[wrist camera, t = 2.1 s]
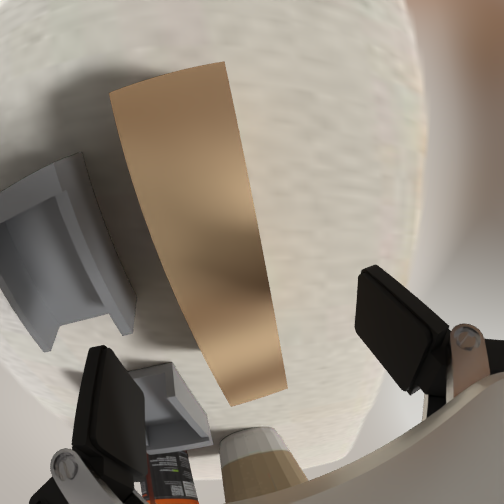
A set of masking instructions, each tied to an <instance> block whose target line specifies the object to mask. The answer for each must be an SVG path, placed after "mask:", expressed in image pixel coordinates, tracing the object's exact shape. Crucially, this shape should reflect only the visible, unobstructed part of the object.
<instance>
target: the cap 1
mask: <svg viewBox="0 0 504 504" xmlns="http://www.w3.org/2000/svg"><path fill="white" fill-rule="evenodd" d="M0 288H1V290H2V292H3V293H4V295H5V297H6V298H7V300H8V302H9V303H10V305H11V307H12V308H13V310H14V311H15V313H16V314H17V316H18V317H19V319H20V320H21V322H22V323H23V325H24V326H25V328H26V329H27V331H28V332H29V333H30V335H31V336H32V337H33V339H34V340H35V341H36V343H37V344H38V345H39V347H40V348H41V349H42V350H43V352H49V351H51V349H52V346H53V343H54V340H55V338H56V335H57V332H58V329H59V327H60V326H61V325H65V324H69V323H73V322H77V321H81V320H85V319H89V318H93V317H97V316H101V315H105V314H109V315H110V316H111V318H112V320H113V321H114V323H115V325H116V326H117V328H118V330H119V331H120V333H121V334H122V336H124V335H128V334H132V333H133V327H134V317H135V309H136V301H137V297H136V295H135V293H134V291H133V289H132V287H131V284H130V282H129V280H128V278H127V276H126V274H125V271H124V269H123V267H122V265H121V262H120V260H119V258H118V255H117V253H116V251H115V248H114V246H113V243H112V241H111V238H110V236H109V233H108V231H107V228H106V225H105V223H104V220H103V217H102V215H101V212H100V209H99V206H98V203H97V200H96V197H95V194H94V191H93V188H92V185H91V182H90V179H89V175H88V172H87V169H86V165H85V162H84V158H83V154H82V152H79V153H77V154H74V155H71V156H69V157H66V158H64V159H61V160H59V161H56V162H54V163H52V164H50V165H48V166H46V167H44V168H42V169H40V170H38V171H36V172H34V173H32V174H30V175H29V176H27V177H25V178H23V179H21V180H20V181H18V182H16V183H15V184H13V185H11V186H10V187H8V188H6V189H5V190H3V191H1V192H0Z"/></svg>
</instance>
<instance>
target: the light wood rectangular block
mask: <svg viewBox="0 0 504 504" xmlns="http://www.w3.org/2000/svg"><path fill="white" fill-rule="evenodd" d="M109 96H110V101H111V105H112V109H113V114H114V118H115V122H116V126H117V130H118V134H119V138H120V141H121V145H122V149H123V152H124V156H125V159H126V163H127V166H128V169H129V173H130V176H131V179H132V182H133V186H134V189H135V192H136V195H137V198H138V201H139V204H140V207H141V210H142V213H143V215H144V218H145V221H146V224H147V227H148V229H149V232H150V235H151V238H152V240H153V243H154V246H155V248H156V251H157V253H158V256H159V258H160V261H161V263H162V266H163V268H164V271H165V273H166V276H167V278H168V280H169V283H170V285H171V287H172V290H173V292H174V294H175V297H176V299H177V301H178V304H179V306H180V308H181V310H182V312H183V315H184V317H185V319H186V321H187V323H188V325H189V327H190V330H191V332H192V334H193V336H194V338H195V340H196V342H197V344H198V346H199V348H200V350H201V352H202V354H203V356H204V358H205V360H206V362H207V364H208V366H209V368H210V370H211V371H212V373H213V375H214V377H215V379H216V381H217V383H218V384H219V386H220V388H221V390H222V392H223V393H224V395H225V397H226V399H227V401H228V402H229V404H230V406H231V407H232V406H235V405H239V404H242V403H245V402H249V401H252V400H255V399H258V398H261V397H264V396H267V395H270V394H273V393H276V392H279V391H282V390H284V389H287V388H288V387H287V381H286V375H285V370H284V364H283V358H282V353H281V347H280V342H279V336H278V331H277V325H276V320H275V314H274V309H273V303H272V298H271V293H270V287H269V282H268V277H267V271H266V266H265V261H264V255H263V250H262V245H261V240H260V235H259V229H258V224H257V219H256V214H255V209H254V204H253V199H252V194H251V188H250V183H249V178H248V173H247V168H246V163H245V158H244V153H243V149H242V144H241V139H240V134H239V129H238V124H237V119H236V114H235V110H234V105H233V100H232V95H231V90H230V86H229V81H228V76H227V71H226V67H225V62H218V63H212V64H207V65H202V66H197V67H193V68H188V69H184V70H180V71H176V72H172V73H168V74H164V75H161V76H157V77H154V78H150V79H147V80H144V81H141V82H138V83H135V84H132V85H129V86H126V87H123V88H121V89H118V90H115V91H113V92H110V93H109Z"/></svg>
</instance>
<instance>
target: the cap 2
mask: <svg viewBox="0 0 504 504" xmlns="http://www.w3.org/2000/svg"><path fill="white" fill-rule="evenodd" d="M128 373H129V374H130V376H131V377H132V378H133V380H134V381H135V382H136V383H137V385H138V386H139V387H140V388H141V390H142V391H143V393H144V397H145V433H146V451H147V453H148V454H149V455H153V454H162V453H170V452H177V451H183V450H189V449H195V448H200V447H205V446H210V445H213V440H212V436H211V432H210V427H209V423H208V418H207V414H206V413H205V411H204V410H203V409H202V407H201V406H200V404H199V403H198V401H197V400H196V398H195V397H194V396H193V394H192V393H191V391H190V390H189V388H188V387H187V385H186V383H185V382H184V380H183V379H182V377H181V376H180V374H179V372H178V371H177V369H176V368H175V366H174V364H173V363H172V362H171V363H167V364H162V365H158V366H153V367H148V368H144V369H139V370H134V371H129V372H128Z"/></svg>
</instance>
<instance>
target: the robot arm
mask: <svg viewBox="0 0 504 504" xmlns="http://www.w3.org/2000/svg"><path fill="white" fill-rule="evenodd" d="M448 328H449V325H447V324H446V323H445V322H444V321H443V320H442V319H441V318H440V317H439V316H438V315H436V314H435V313H434V312H433V311H432V310H431V309H429V307H427V306H426V305H425V304H424V303H423V302H422V301H420V300H419V299H418V298H417V297H416V296H415V295H413V294H412V293H411V292H410V291H409V290H407V289H406V288H405V287H404V286H403V285H401V284H400V283H399V282H398V281H397V280H395V279H394V278H393V277H392V276H390V275H389V274H388V273H387V272H385V271H384V270H383V269H382V268H380V267H379V266H378V265H373V266H370V267H367V268H365V269H363V270H362V271H361V274H360V275H359V276H358V289H357V304H356V316H355V330H356V333H357V334H358V336H359V337H360V338H361V339H362V340H363V342H364V343H365V344H366V345H367V347H368V348H369V349H370V350H371V352H372V353H373V354H374V355H375V357H376V358H377V359H378V360H379V362H380V363H381V364H382V365H383V367H384V368H385V369H386V370H387V372H388V373H389V374H390V376H391V377H392V378H393V379H394V381H395V382H396V383H397V384H398V386H399V387H400V388H401V389H402V390H403V391H407V392H408V393H409V395H411V394H413V393H415V392H416V391H418V390H419V389H421V390H422V391H423V392H424V405H423V416H422V422H421V423H420V424H418V425H416V426H415V427H413V428H412V429H410V430H409V431H407V432H406V433H404V434H403V435H401V436H399V437H398V438H396V439H394V440H393V441H391V442H389V443H388V444H386V445H384V446H383V447H381V448H379V449H377V450H375V451H374V452H372V453H370V454H368V455H366V456H364V457H362V458H360V459H358V460H356V461H354V462H352V463H350V464H348V465H346V466H344V467H341V468H339V469H337V470H334V471H332V472H330V473H327V474H325V475H323V476H320V477H318V478H315V479H312V480H310V481H307V482H304V483H301V484H298V485H295V486H292V487H289V488H286V489H283V490H280V491H276V492H273V493H269V494H266V495H262V496H258V497H254V498H249V499H245V500H240V501H235V502H230V503H225V504H504V340H492V339H484V337H483V334H482V333H481V332H480V330H479V329H478V328H476V327H475V326H473V325H470V324H459V325H457V326H455V327H454V328H453V329H452V331H450V330H449V329H448ZM50 469H51V474H52V477H51V478H50V479H49V480H48V481H47V482H46V483H45V484H44V485H43V486H42V487H41V488H40V489H39V490H38V491H37V492H36V493H35V494H34V495H33V496H32V497H31V499H30V501H29V504H149V503H148V502H147V501H146V500H145V499H144V498H143V497H142V496H141V495H140V494H139V493H138V492H137V491H136V490H135V489H134V482H145V475H147V474H148V465H147V451H146V433H145V397H144V393H143V391H142V390H141V388H140V387H139V386H138V385H137V383H136V382H135V381H134V380H133V378H132V377H131V376H130V374H129V373H128V372H127V370H126V369H125V368H124V366H123V365H122V363H121V362H120V361H119V359H118V358H117V356H116V355H115V354H114V352H113V351H112V349H110V348H107V347H106V346H105V345H101V346H96V347H92V348H90V349H89V352H88V355H87V360H86V364H85V368H84V372H83V377H82V382H81V387H80V392H79V397H78V403H77V408H76V415H75V421H74V429H73V437H72V450H71V449H67V448H65V449H61V450H59V451H57V452H56V453H55V454H54V456H53V458H52V460H51V464H50Z"/></svg>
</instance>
